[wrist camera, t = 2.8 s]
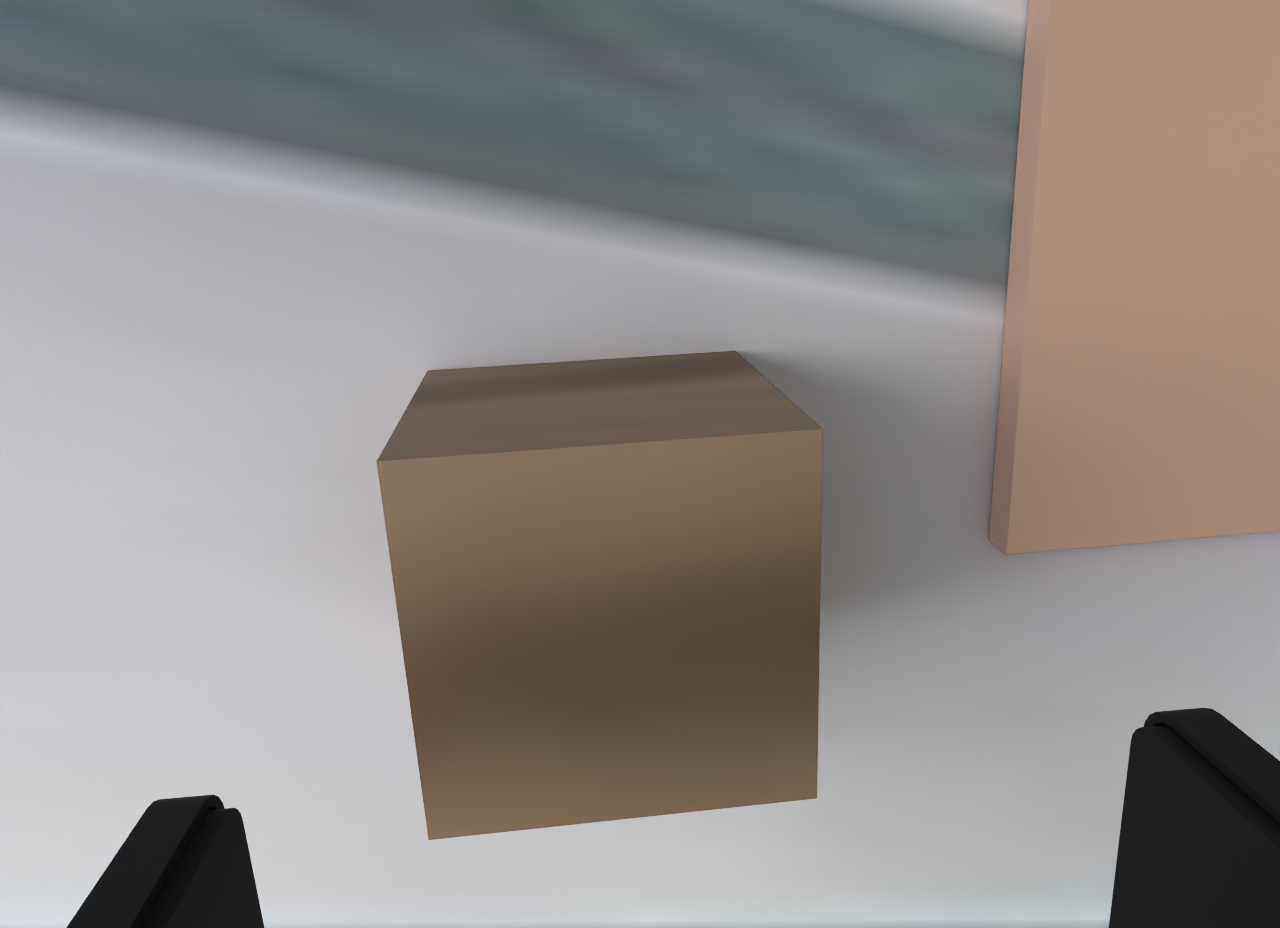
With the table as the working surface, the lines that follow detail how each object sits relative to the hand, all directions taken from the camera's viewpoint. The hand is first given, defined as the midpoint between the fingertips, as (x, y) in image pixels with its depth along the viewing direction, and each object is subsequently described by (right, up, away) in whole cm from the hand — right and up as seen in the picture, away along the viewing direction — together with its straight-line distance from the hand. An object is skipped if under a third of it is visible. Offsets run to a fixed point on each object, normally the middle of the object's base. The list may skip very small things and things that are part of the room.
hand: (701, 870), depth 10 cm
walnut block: (-2, +3, +9) cm, 10 cm away
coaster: (+12, +8, +9) cm, 17 cm away
